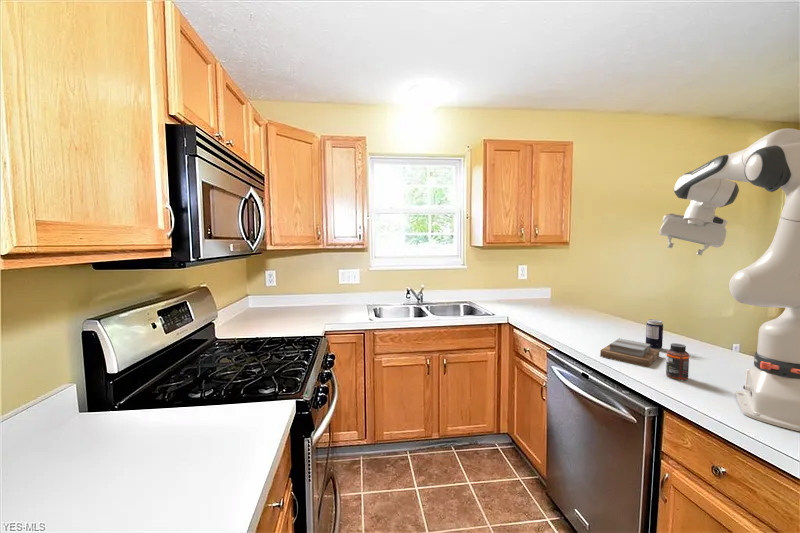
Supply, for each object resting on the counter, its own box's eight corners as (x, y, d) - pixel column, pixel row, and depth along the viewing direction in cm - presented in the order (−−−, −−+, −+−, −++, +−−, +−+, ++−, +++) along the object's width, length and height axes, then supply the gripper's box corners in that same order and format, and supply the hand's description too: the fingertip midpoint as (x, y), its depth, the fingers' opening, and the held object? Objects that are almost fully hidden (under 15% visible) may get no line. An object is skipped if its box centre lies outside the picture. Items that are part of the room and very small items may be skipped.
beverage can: (664, 350, 144) (666, 322, 143) (649, 350, 145) (650, 322, 144) (657, 346, 149) (659, 319, 148) (642, 346, 151) (644, 318, 150)
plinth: (648, 367, 127) (648, 353, 127) (600, 356, 139) (600, 344, 139) (659, 356, 138) (659, 344, 137) (613, 347, 150) (614, 335, 149)
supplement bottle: (689, 377, 118) (691, 344, 117) (686, 382, 114) (688, 349, 113) (667, 372, 122) (668, 341, 121) (664, 377, 118) (665, 345, 117)
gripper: (666, 209, 140) (653, 241, 140) (733, 222, 128) (718, 257, 129) (664, 214, 145) (652, 245, 145) (728, 227, 134) (714, 260, 134)
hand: (684, 251), depth 137 cm, fingers open, 8 cm apart
